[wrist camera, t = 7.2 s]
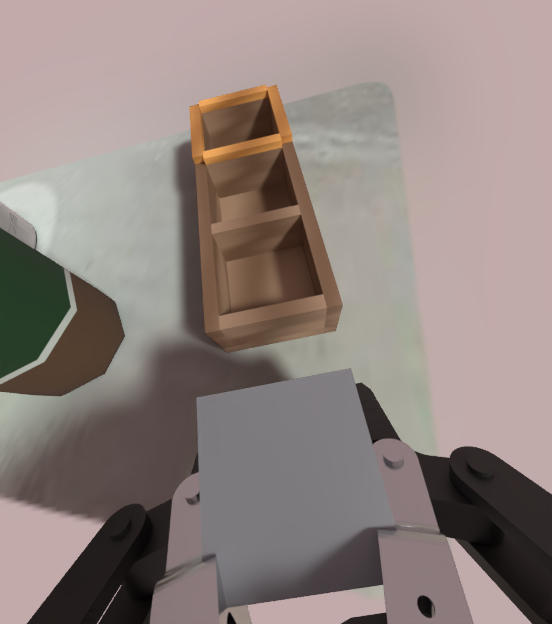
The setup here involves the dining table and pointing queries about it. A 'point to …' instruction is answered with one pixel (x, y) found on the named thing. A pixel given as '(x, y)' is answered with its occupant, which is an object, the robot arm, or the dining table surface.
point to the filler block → (290, 489)
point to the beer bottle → (51, 324)
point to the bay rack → (257, 226)
